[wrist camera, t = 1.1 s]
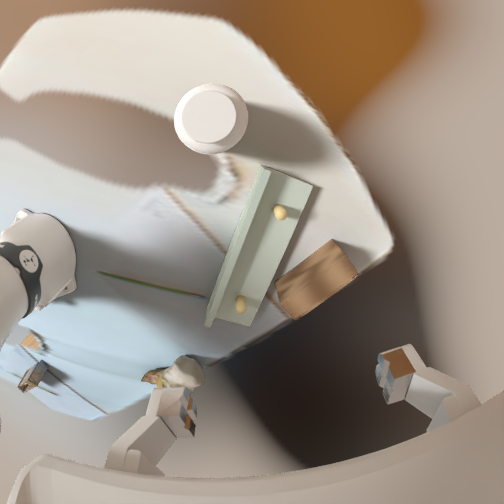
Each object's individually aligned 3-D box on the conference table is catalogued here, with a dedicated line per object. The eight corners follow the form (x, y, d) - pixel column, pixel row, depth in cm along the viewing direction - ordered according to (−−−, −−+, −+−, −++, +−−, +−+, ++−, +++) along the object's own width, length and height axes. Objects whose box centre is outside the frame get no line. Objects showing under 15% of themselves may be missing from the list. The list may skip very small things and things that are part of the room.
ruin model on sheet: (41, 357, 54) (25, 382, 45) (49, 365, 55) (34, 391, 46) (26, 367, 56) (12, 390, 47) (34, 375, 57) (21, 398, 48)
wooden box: (288, 297, 50) (295, 321, 43) (274, 282, 48) (280, 305, 42) (343, 255, 47) (359, 274, 41) (332, 239, 46) (347, 256, 39)
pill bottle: (254, 132, 38) (266, 131, 25) (205, 159, 40) (191, 173, 26) (227, 86, 36) (224, 61, 22) (178, 114, 37) (149, 105, 23)
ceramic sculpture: (218, 399, 48) (173, 422, 52) (221, 366, 55) (179, 392, 60) (171, 372, 44) (131, 399, 49) (179, 338, 52) (141, 369, 56)
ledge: (249, 320, 51) (251, 338, 46) (206, 308, 50) (204, 326, 45) (309, 183, 42) (319, 190, 37) (260, 164, 40) (264, 168, 36)
